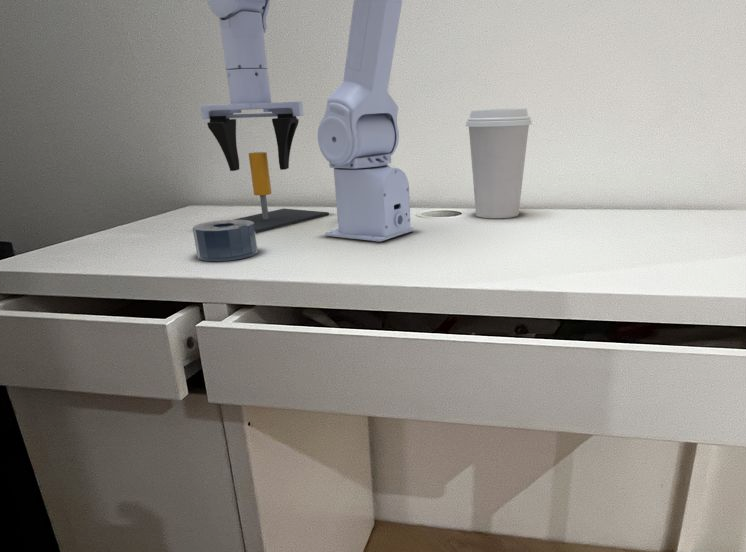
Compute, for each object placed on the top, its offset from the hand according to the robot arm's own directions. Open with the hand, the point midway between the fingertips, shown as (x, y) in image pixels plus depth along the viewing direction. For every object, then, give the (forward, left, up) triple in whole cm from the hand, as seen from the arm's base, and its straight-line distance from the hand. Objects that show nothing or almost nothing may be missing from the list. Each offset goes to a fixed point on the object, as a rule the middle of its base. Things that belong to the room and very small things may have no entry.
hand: (259, 169), depth 93 cm
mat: (0, 0, -8) cm, 8 cm away
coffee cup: (-30, -19, -8) cm, 36 cm away
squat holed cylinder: (-12, +18, -8) cm, 23 cm away
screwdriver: (0, 0, -7) cm, 7 cm away
